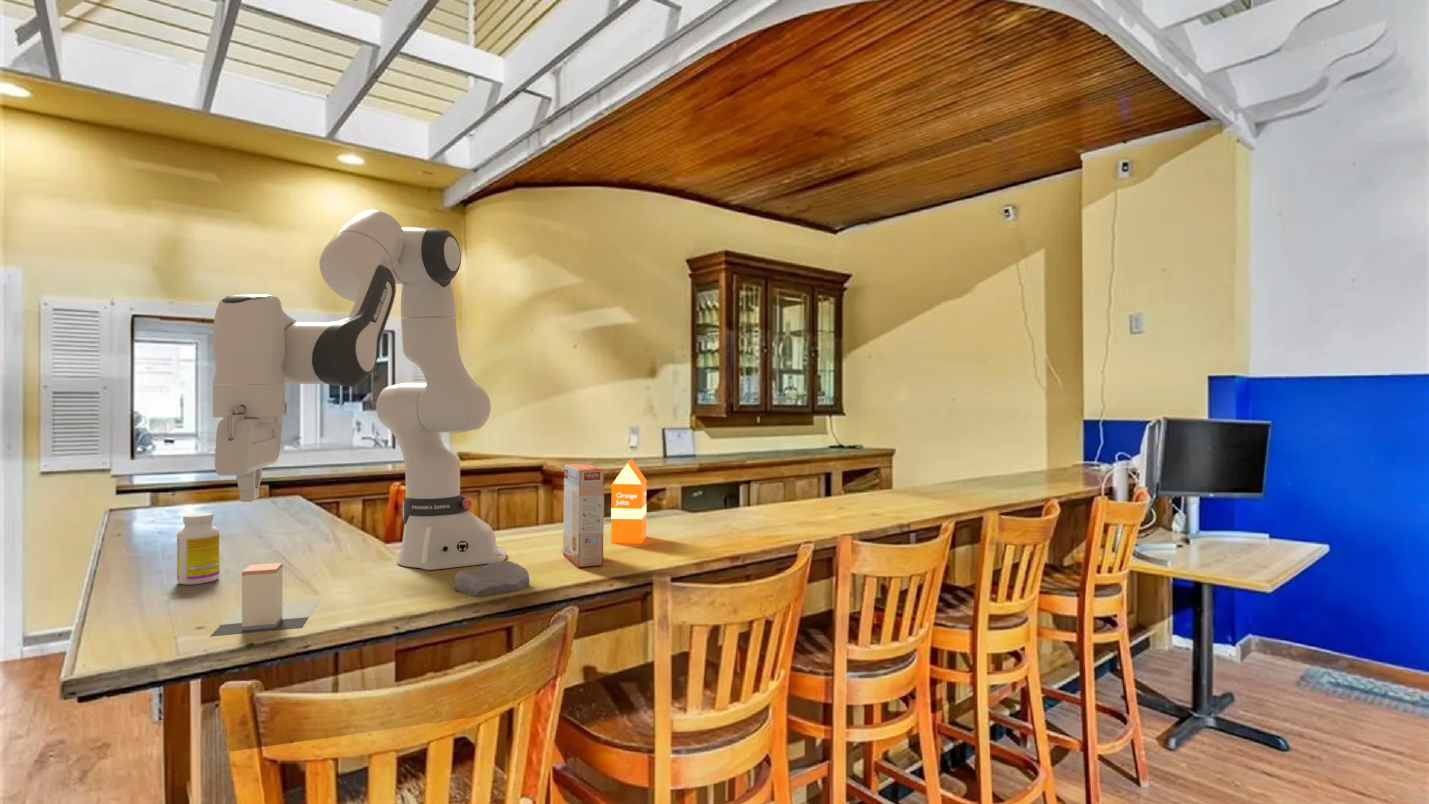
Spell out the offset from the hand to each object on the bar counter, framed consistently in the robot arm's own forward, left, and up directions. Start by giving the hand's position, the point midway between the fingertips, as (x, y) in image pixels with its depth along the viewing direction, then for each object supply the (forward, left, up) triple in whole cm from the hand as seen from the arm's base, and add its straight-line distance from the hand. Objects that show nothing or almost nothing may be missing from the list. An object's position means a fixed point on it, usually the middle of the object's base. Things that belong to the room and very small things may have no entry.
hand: (249, 500), depth 104 cm
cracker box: (-55, -37, -21) cm, 70 cm away
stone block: (-35, -20, -22) cm, 46 cm away
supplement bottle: (+18, -43, -21) cm, 51 cm away
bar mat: (0, -13, -21) cm, 24 cm away
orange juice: (-70, -56, -21) cm, 92 cm away
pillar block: (0, -8, -20) cm, 22 cm away
